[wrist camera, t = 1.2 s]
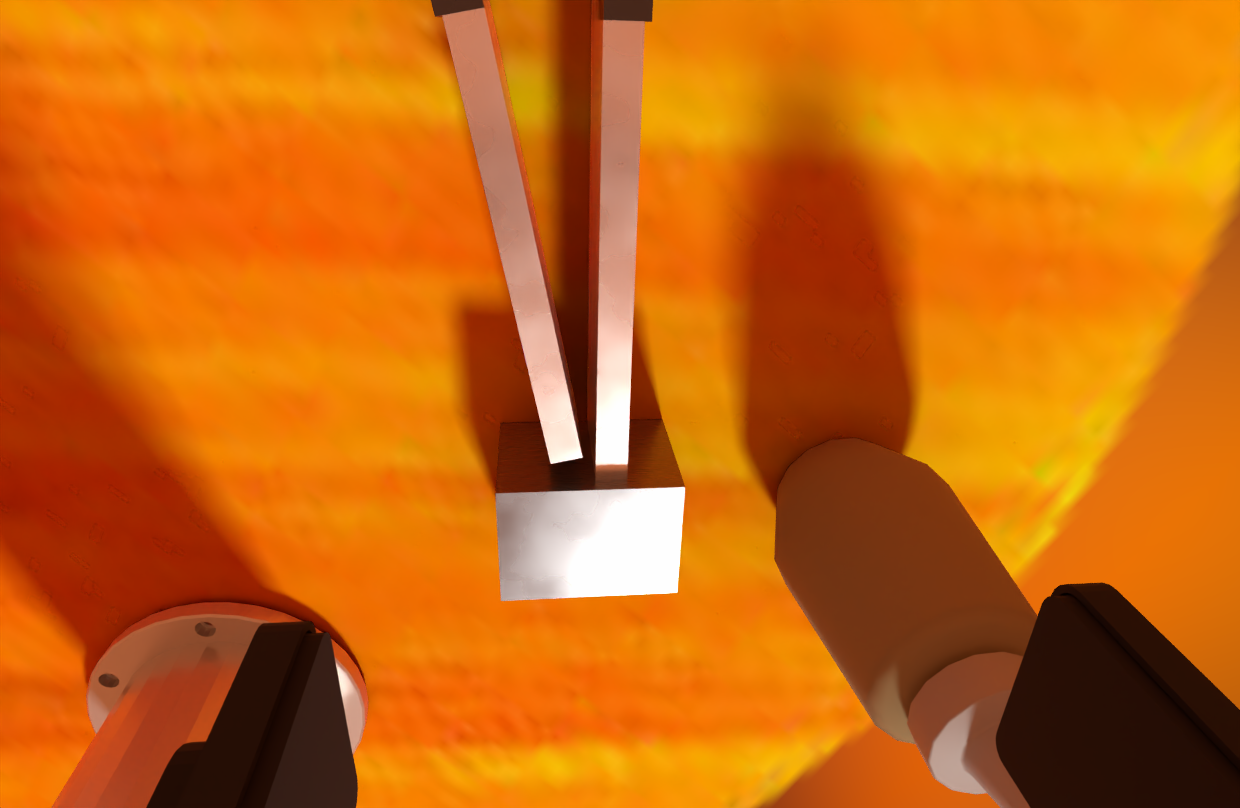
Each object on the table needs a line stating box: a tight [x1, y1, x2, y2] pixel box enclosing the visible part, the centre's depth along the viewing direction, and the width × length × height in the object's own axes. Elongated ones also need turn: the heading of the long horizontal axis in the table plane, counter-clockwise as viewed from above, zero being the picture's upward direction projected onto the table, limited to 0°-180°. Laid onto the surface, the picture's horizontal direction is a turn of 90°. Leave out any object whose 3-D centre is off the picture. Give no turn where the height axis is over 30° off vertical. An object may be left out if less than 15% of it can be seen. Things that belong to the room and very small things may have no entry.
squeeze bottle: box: [774, 438, 1038, 808], centre depth 28 cm, size 8×8×18 cm
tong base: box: [496, 0, 685, 601], centre depth 27 cm, size 24×7×6 cm, turn 178°
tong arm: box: [431, 0, 583, 464], centre depth 26 cm, size 19×1×5 cm, turn 9°
